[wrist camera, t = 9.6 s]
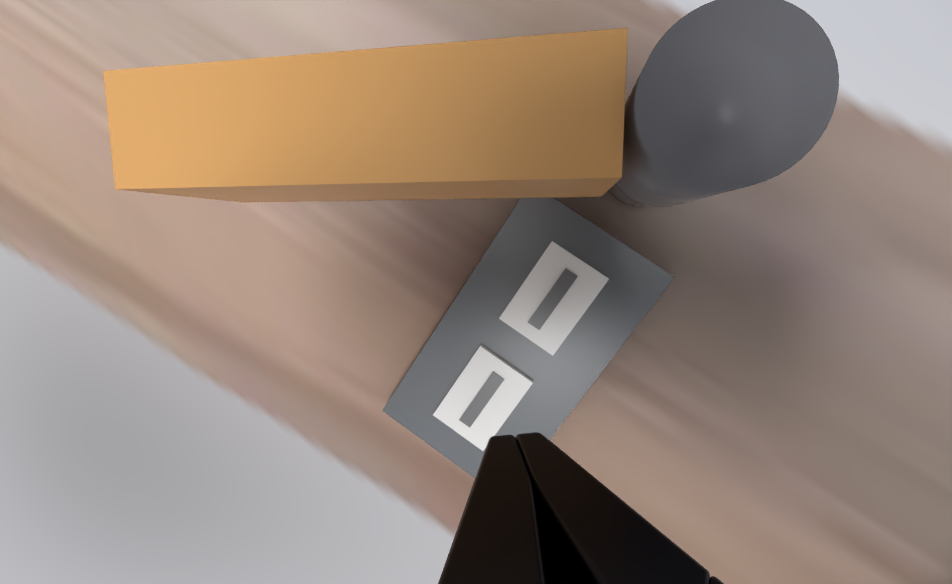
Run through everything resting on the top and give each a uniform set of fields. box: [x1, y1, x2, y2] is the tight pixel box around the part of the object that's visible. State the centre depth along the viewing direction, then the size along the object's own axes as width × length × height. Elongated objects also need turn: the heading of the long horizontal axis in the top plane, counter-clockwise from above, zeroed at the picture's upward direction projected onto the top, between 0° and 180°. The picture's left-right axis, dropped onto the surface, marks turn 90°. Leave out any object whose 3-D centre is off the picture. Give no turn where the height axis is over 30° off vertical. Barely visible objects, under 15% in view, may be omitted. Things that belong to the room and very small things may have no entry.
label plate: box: [382, 197, 674, 478], centre depth 20 cm, size 12×7×1 cm, turn 147°
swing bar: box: [103, 0, 839, 207], centre depth 13 cm, size 17×4×6 cm, turn 90°
